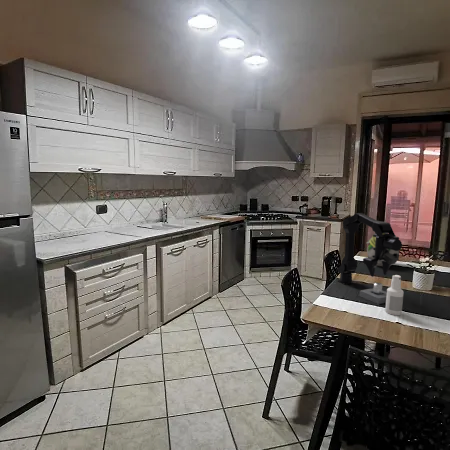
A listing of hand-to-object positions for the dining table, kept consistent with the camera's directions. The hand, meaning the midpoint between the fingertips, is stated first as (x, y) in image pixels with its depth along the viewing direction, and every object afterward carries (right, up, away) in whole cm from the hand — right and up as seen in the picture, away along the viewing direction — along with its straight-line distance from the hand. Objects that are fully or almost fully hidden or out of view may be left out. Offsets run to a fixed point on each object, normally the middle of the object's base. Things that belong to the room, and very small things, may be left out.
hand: (378, 275), depth 164 cm
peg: (0, -12, +2) cm, 12 cm away
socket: (0, -12, +2) cm, 12 cm away
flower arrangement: (+35, -3, +67) cm, 75 cm away
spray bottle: (-1, -15, -16) cm, 22 cm away
